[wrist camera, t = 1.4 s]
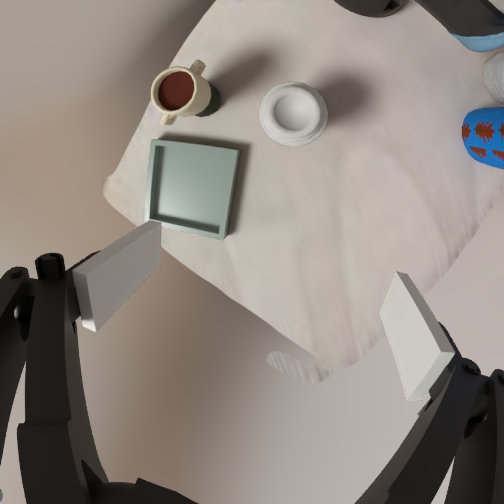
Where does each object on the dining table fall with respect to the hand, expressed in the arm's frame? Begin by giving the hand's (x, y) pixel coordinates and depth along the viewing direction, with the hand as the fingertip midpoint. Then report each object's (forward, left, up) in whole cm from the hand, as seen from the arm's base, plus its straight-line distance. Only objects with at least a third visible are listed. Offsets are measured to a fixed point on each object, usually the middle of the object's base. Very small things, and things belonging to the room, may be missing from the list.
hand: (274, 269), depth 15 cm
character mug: (-11, -18, -35) cm, 41 cm away
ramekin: (-33, +37, -35) cm, 61 cm away
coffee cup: (-10, -2, -35) cm, 37 cm away
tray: (+5, -18, -35) cm, 39 cm away
